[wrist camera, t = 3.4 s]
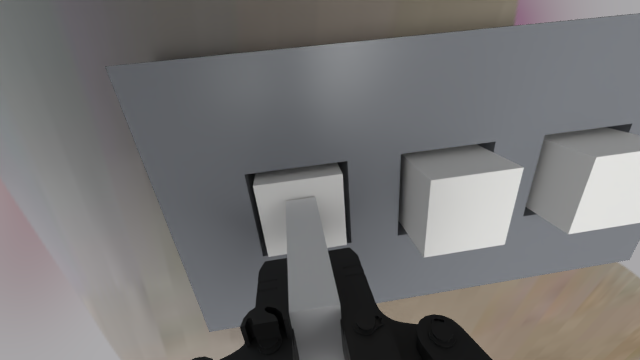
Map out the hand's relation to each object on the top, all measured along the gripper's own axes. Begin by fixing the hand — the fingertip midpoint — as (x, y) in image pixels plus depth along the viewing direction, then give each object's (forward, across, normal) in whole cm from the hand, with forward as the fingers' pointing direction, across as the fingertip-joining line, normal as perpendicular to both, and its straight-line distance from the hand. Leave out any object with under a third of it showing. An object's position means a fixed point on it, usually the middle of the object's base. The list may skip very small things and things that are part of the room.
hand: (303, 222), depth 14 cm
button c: (+3, +16, 0) cm, 16 cm away
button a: (+5, 0, 0) cm, 5 cm away
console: (+6, +8, 0) cm, 10 cm away
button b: (+3, +8, 0) cm, 8 cm away
